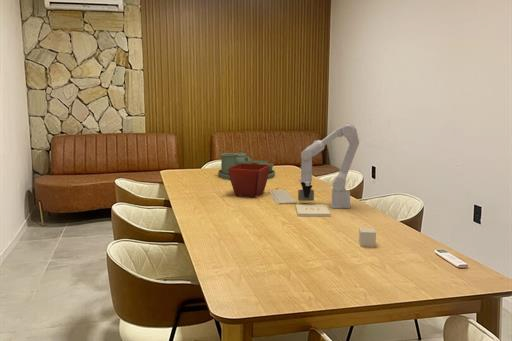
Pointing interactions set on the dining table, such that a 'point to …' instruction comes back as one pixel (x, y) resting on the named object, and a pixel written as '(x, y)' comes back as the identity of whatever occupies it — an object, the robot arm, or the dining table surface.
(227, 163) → the tea set
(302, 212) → the board
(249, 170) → the plant pot
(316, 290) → the dining table surface
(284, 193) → the baseboard molding
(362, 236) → the light gray cube
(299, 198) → the block
